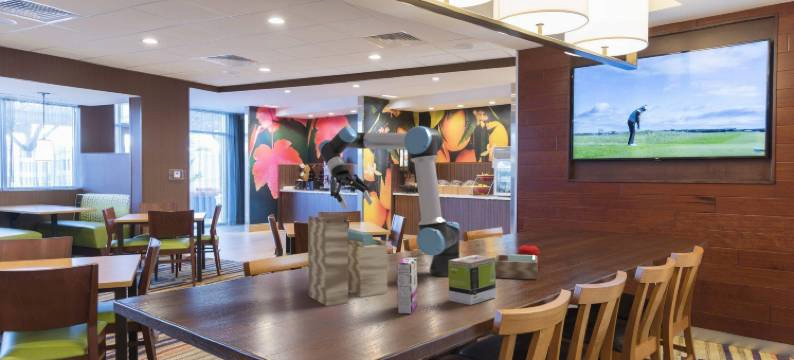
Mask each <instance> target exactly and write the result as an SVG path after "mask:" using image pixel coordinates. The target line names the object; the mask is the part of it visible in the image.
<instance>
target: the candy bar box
mask: <svg viewBox="0 0 794 360" xmlns="http://www.w3.org/2000/svg"><path fill="white" fill-rule="evenodd" d="M417 262H418V261H417V257H402V258H401V260H399V261H398V262H397V263H396V275H397V276H396V277H397V278H396V279H397V280H396V282H397V314H403V315H412V314H413V313H414V311H415V310H416V309H417V307H418V267H417V266H418V265H417Z"/></svg>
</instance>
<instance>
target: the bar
mask: <svg viewBox="0 0 794 360" xmlns="http://www.w3.org/2000/svg"><path fill="white" fill-rule="evenodd" d="M373 236H374V234H373V233H369V232H366V231H362V230H361V231H359V230H356V229H351V228H348V239H349V240H353V241H357V242H361V243H364V245H373V239H374V237H373Z"/></svg>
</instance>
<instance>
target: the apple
mask: <svg viewBox="0 0 794 360" xmlns="http://www.w3.org/2000/svg"><path fill="white" fill-rule="evenodd" d="M517 252H518V254H517V255H535V256H537V259H538V260H539V258H540V254H541V252H540V249H539V248H538V247H537V246H535V245H531V244H529V243H528V244H527V245H521V246H520V247H519V248H518V251H517Z"/></svg>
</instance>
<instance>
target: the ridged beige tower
mask: <svg viewBox="0 0 794 360" xmlns="http://www.w3.org/2000/svg"><path fill="white" fill-rule="evenodd" d="M348 293H351V294H353V295H355V296H356V297H359V298H364V297H372V296H379V295H386V294H388V245H387V242H386V240H381V239H377V238H373V245H364V243H361V242H357V241H353V240H349V239H348Z"/></svg>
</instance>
